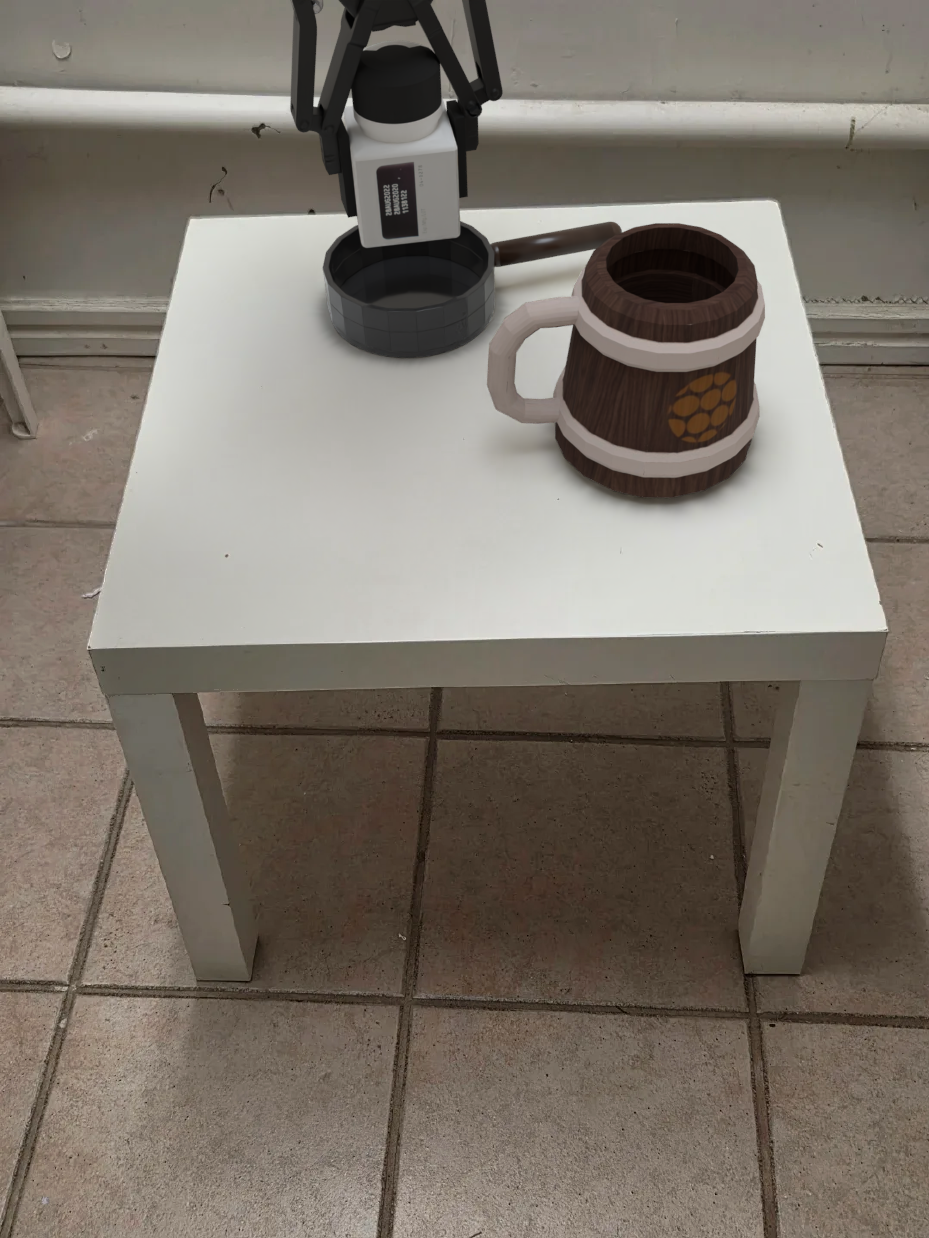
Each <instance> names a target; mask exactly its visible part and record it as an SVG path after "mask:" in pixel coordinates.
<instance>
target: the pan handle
mask: <svg viewBox="0 0 929 1238" xmlns="http://www.w3.org/2000/svg"><path fill="white" fill-rule="evenodd" d="M622 232H623V230H622V227H621V226H620V225H619V223H617V222H616V221H605V222H599V223H594V224H589V225H582V226H577V227H571V228H567V229H566V228H565V229H560V230H556V231H550V232H545V233H539V234H534V235H527V236H521V237H516V238H512V239H506V240H501V241H494V242H492V243H490V245H491V247H492V249H493V251H494V253H495V268H501V267H506V266H512V265H519V264H522V263H528V262H533V261H538V260H545V259H549V258H555V257H560V256H561V257H562V256H567V255H570V254H571V255H572V254H577V253H583V252H589V251H594V250H595V249H597V248H598V247H599V246H600V245H602V244H603V243H604V242H605V241H607V240H608V239H609V238H611V237H613V236H615V235H617V234H620V233H622Z"/></svg>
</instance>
